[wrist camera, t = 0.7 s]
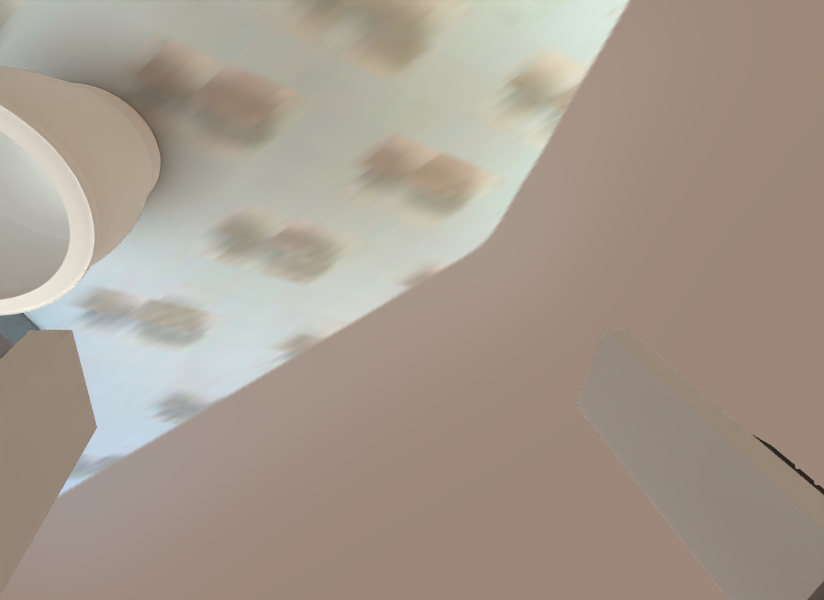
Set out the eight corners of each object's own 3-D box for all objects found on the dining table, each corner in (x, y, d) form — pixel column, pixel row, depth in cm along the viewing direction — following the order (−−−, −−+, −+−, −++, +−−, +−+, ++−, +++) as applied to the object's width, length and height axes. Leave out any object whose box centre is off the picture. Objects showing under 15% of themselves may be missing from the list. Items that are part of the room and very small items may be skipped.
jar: (206, 141, 33) (139, 193, 20) (133, 246, 35) (30, 354, 22) (48, 25, 28) (-177, -7, 15) (-24, 156, 30) (-273, 225, 17)
